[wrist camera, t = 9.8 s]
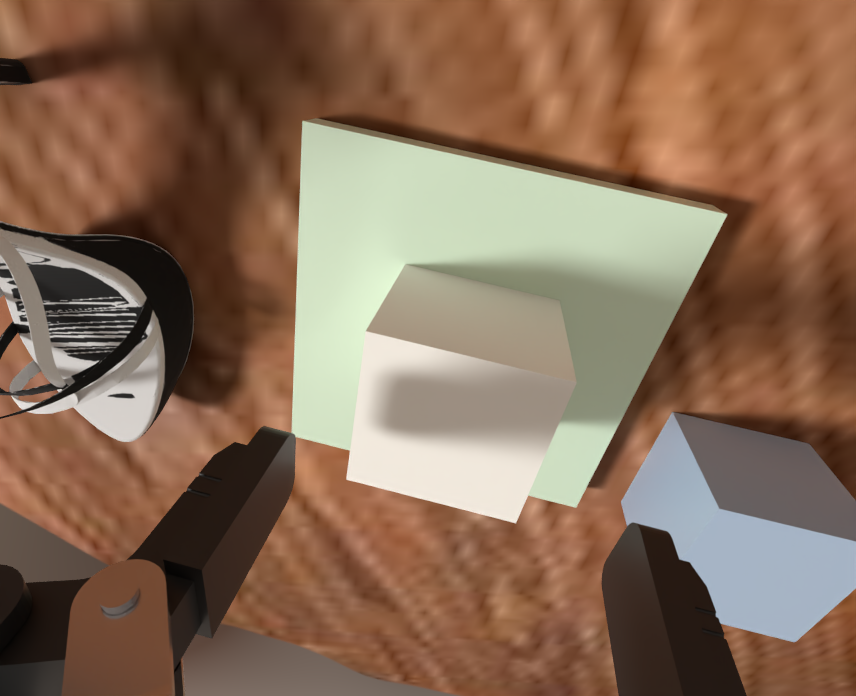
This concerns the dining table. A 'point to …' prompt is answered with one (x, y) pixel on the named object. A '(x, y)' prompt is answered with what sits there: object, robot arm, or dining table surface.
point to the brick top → (750, 522)
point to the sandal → (94, 319)
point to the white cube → (460, 392)
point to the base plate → (486, 271)
